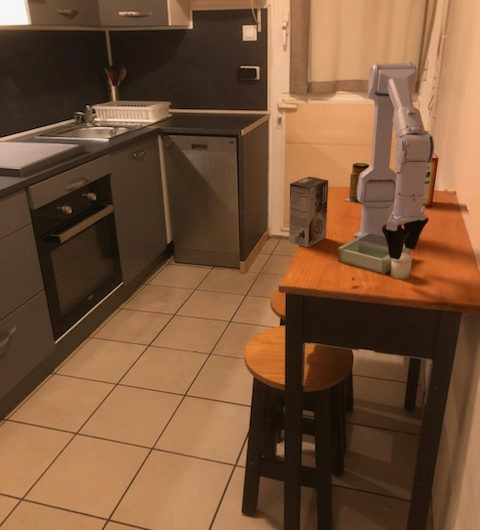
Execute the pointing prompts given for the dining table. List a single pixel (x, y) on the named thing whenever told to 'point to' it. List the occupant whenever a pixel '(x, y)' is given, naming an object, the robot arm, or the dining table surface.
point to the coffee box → (308, 211)
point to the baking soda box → (430, 181)
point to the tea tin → (373, 246)
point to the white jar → (401, 266)
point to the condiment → (355, 180)
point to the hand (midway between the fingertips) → (402, 253)
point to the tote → (365, 257)
